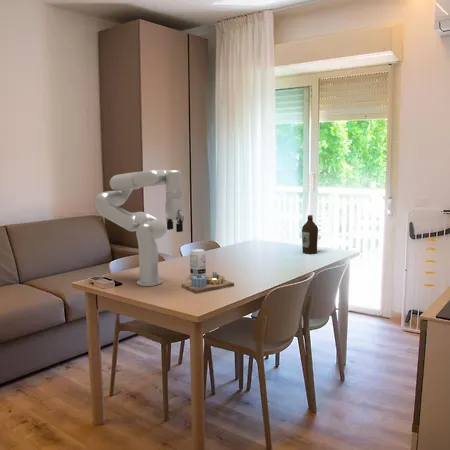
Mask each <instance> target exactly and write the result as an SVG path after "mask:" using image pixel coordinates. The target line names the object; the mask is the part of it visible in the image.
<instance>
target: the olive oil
mask: <svg viewBox="0 0 450 450" xmlns="http://www.w3.org/2000/svg"><path fill="white" fill-rule="evenodd" d="M313 219H314V217H313V214H308V215H307V221H306V222H305V223H304V224H303V226H302V228H301V246H302V247H301V248H302V250H301V251H302V254H304V253H305V254H306V255H315V254H317V253H318V238H319V228H318V225H317V224H316V223H315V222H314V220H313Z"/></svg>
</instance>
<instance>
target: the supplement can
mask: <svg viewBox="0 0 450 450" xmlns="http://www.w3.org/2000/svg"><path fill="white" fill-rule="evenodd" d="M206 253H207V252H205V249H204V248H203V249H202V248H194V249H191V250H190V253H189V268H190V269H189V270H190V272H189V273H190V274H189V275H190V276H189V277H190V278H191V279H192V277H193V276H197V275H201V276H207V269H206V268H207V267H206V266H207V265H206V260H207V259H206Z"/></svg>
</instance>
